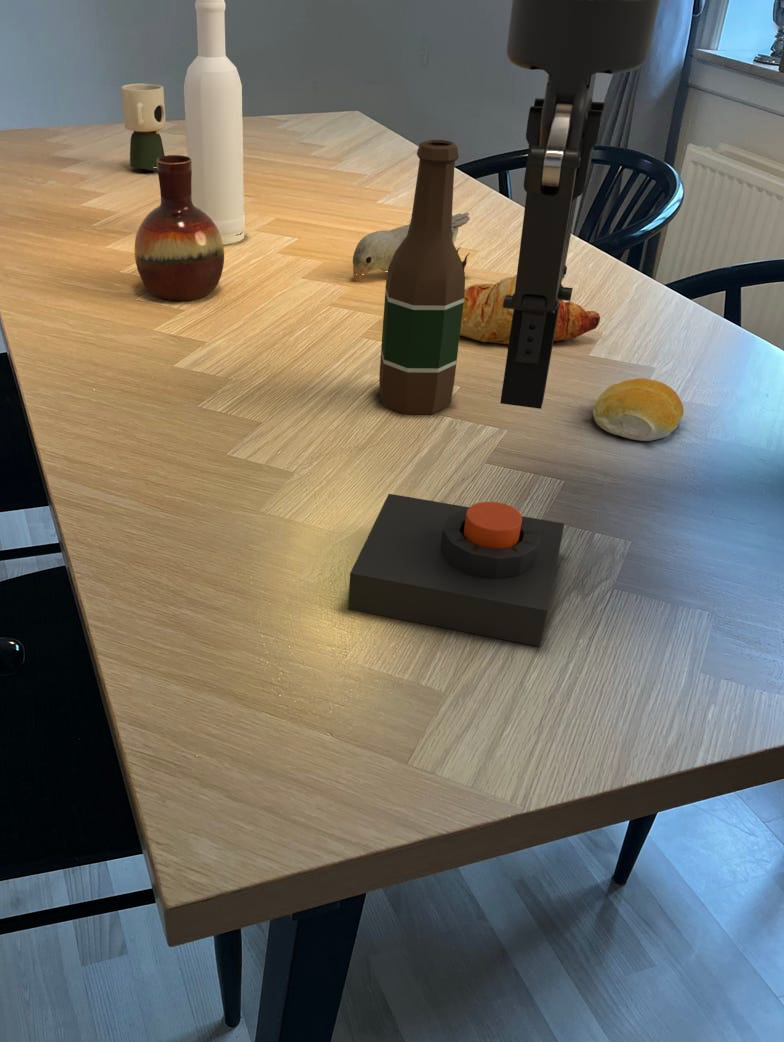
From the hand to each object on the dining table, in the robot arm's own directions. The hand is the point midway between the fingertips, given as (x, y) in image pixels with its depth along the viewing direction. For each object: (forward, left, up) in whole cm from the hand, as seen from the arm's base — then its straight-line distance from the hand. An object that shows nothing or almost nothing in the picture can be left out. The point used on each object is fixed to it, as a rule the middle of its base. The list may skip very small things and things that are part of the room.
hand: (521, 401), depth 66 cm
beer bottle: (+13, -30, -15) cm, 36 cm away
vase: (+48, -52, -15) cm, 72 cm away
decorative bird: (+21, -68, -15) cm, 73 cm away
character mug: (+78, -108, -15) cm, 134 cm away
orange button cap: (+1, +1, -10) cm, 10 cm away
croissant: (+7, -52, -15) cm, 55 cm away
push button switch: (+3, +1, -15) cm, 15 cm away
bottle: (+52, -75, -15) cm, 92 cm away
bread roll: (-9, -32, -15) cm, 37 cm away
